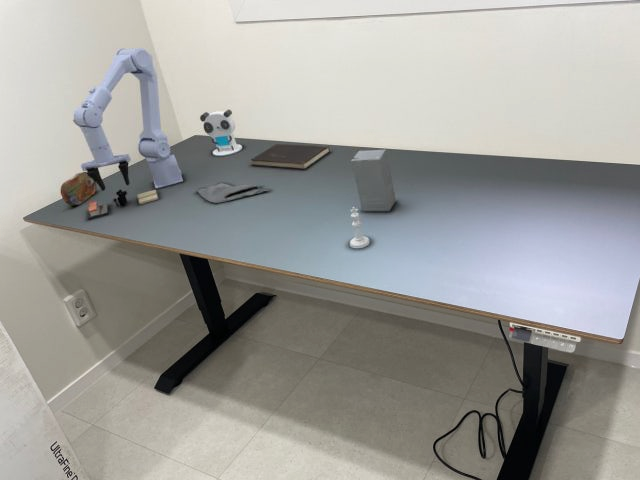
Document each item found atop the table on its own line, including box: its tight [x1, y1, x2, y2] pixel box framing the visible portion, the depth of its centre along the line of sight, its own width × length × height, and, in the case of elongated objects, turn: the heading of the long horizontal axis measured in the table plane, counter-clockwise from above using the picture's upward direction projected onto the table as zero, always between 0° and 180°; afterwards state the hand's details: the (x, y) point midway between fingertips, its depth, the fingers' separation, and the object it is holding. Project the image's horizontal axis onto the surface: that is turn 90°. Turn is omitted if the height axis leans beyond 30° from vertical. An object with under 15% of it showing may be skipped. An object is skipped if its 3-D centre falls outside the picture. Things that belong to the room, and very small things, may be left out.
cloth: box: [195, 182, 270, 204], centre depth 181 cm, size 26×14×2 cm, turn 60°
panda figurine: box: [199, 109, 243, 157], centre depth 216 cm, size 12×11×15 cm
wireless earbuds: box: [112, 188, 128, 207], centre depth 185 cm, size 7×2×5 cm, turn 167°
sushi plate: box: [87, 200, 109, 221], centre depth 183 cm, size 6×8×3 cm
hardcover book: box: [250, 143, 331, 171], centre depth 200 cm, size 16×23×2 cm
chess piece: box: [349, 206, 370, 249], centre depth 139 cm, size 5×5×10 cm
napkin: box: [137, 189, 159, 205], centre depth 188 cm, size 6×6×1 cm
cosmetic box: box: [350, 149, 397, 212], centre depth 153 cm, size 8×7×16 cm
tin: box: [60, 171, 97, 206], centre depth 194 cm, size 15×3×8 cm, turn 168°
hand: (116, 186), depth 183 cm, fingers open, 7 cm apart
